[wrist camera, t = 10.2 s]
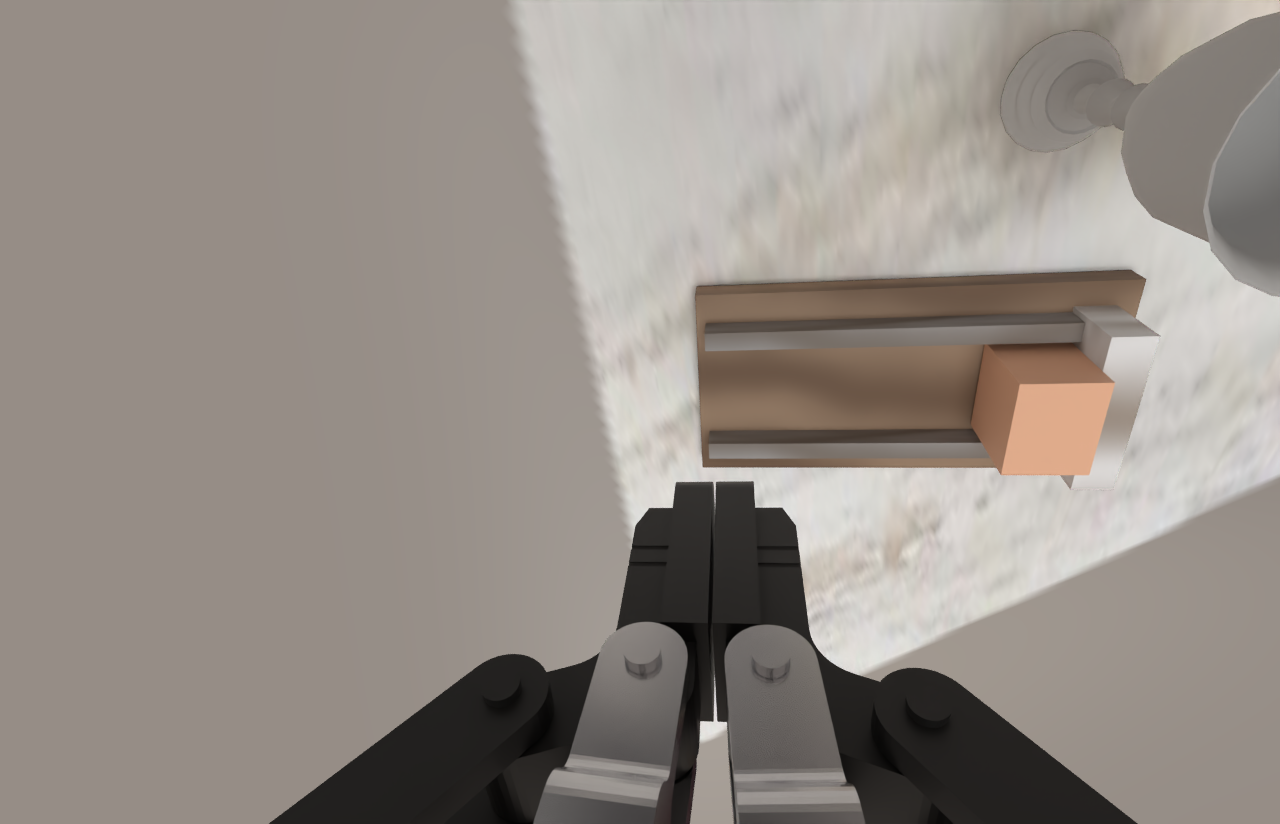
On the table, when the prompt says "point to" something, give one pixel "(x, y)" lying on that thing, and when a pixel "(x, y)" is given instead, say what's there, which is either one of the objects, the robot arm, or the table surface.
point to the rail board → (900, 365)
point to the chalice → (1173, 133)
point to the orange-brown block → (1040, 408)
